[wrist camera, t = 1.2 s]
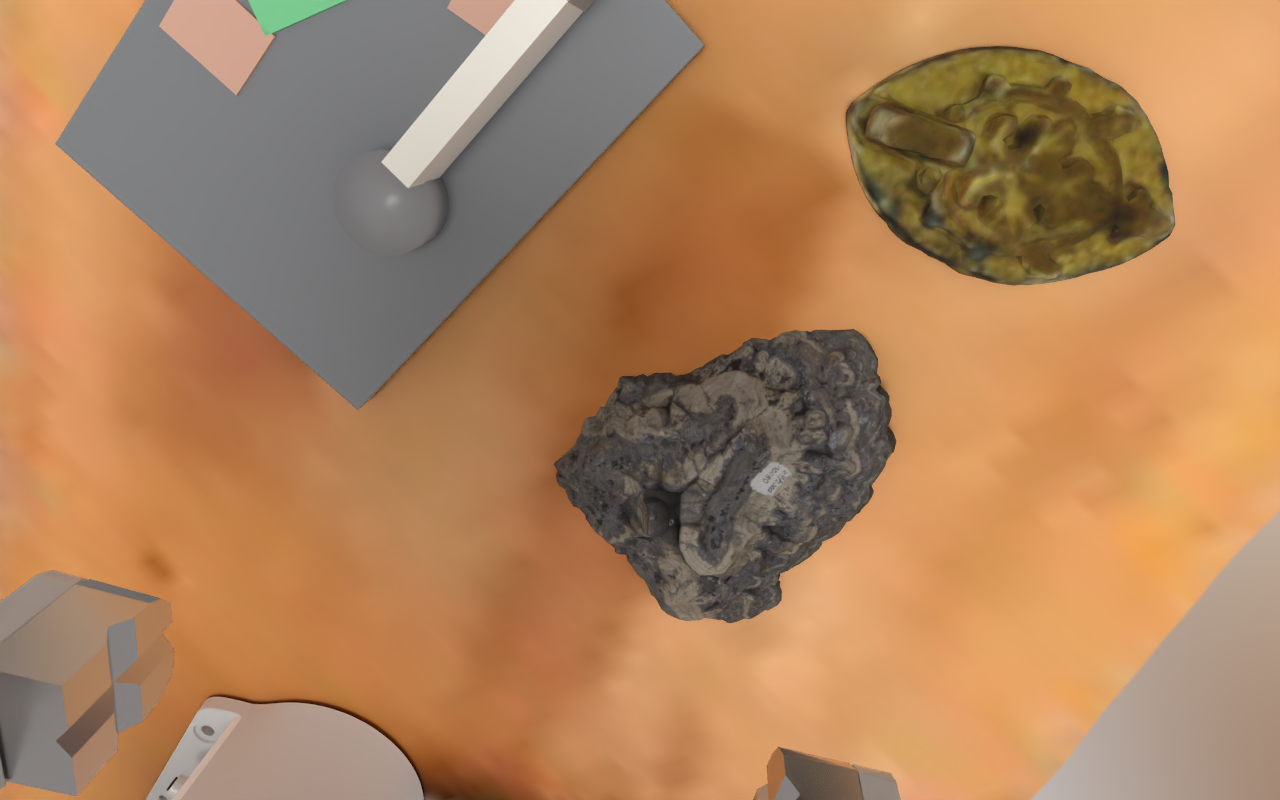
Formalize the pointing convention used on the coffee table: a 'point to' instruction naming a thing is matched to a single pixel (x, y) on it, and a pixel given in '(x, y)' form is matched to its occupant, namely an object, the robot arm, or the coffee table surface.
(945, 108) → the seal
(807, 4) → the coffee table surface
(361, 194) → the control lever
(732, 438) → the fossil rock
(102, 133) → the dial board
